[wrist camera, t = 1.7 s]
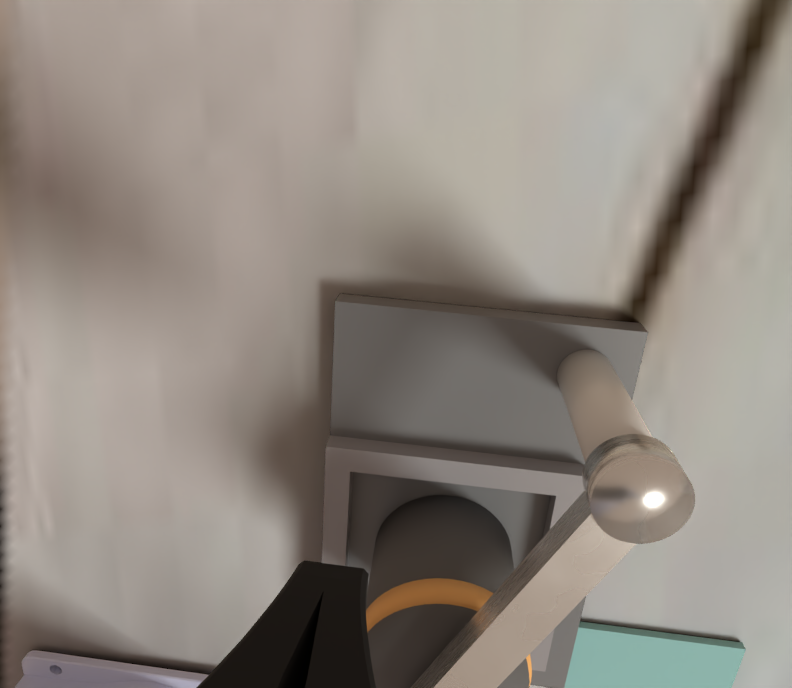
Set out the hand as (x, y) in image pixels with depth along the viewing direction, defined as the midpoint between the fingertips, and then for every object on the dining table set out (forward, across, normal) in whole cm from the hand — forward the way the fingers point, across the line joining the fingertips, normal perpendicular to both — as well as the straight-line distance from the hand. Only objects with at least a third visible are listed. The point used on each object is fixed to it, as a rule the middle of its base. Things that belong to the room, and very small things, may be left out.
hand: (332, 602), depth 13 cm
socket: (+8, -3, +3) cm, 9 cm away
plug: (+7, -2, +5) cm, 9 cm away
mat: (+8, -10, +11) cm, 17 cm away
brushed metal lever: (+2, -4, +1) cm, 5 cm away
